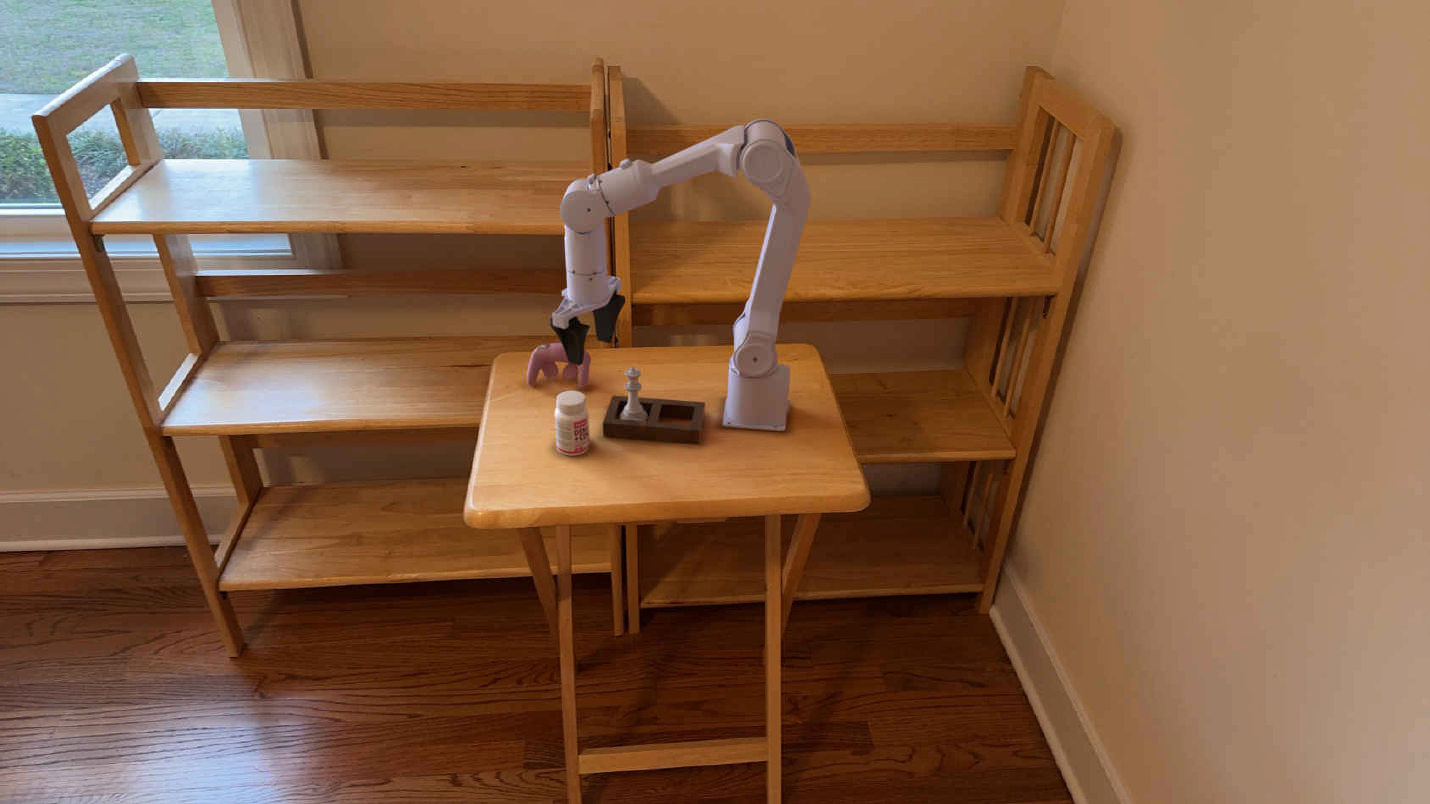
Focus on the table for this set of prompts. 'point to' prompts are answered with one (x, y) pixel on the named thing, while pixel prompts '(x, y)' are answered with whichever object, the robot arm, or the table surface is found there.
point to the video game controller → (546, 360)
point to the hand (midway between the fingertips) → (590, 351)
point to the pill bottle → (571, 423)
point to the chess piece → (633, 398)
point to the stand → (656, 421)
